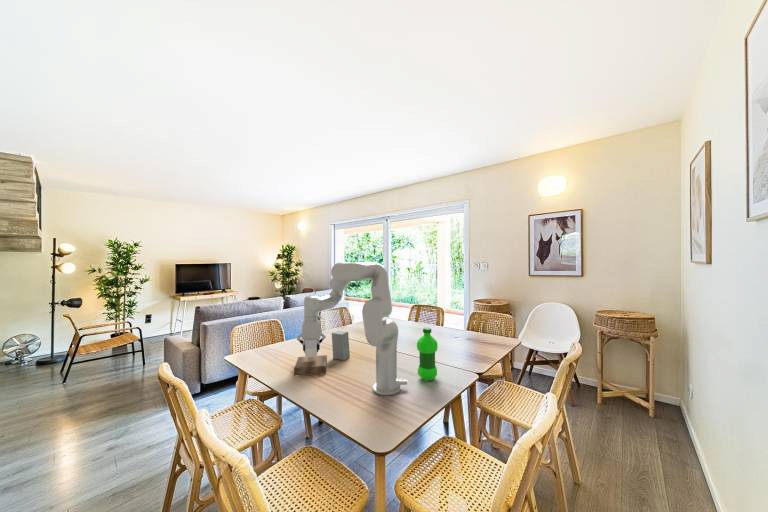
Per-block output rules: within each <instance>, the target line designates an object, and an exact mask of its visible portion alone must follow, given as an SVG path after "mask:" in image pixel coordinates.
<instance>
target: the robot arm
mask: <svg viewBox="0 0 768 512" xmlns="http://www.w3.org/2000/svg"><path fill="white" fill-rule="evenodd" d="M330 275H331V277H332V278H330V281H329V288H330V289H331V291H330V292H329V294H328V295H322V296H317V295H307V296H305V297H304V299H303V318H304V319H303V321H302V325H301V333H300V334H299V335H298V336H297V337H296V340H297V341H298V342H299V343H300V344H301V345H302V351H303V353H304V354H305V340H315V339H317V353H318V352H319V351H320V349H321V348H320V346H321V345H320V344H321V343H322V342H323V341H324V340H325V339H326V335H325V334H324V333H323V332H322V326H321V320H320V319H322V316H321V315H319V312H323V311H327V310H331V309H333V308H335V307H336V306H337V305H338V304H339V302H341V300H342V298H343V295H344V290H345V289H346V288H348V286H349V284H351V282H362V281H368V280H371V284H370V292H371V298H370V299H368V300H366V301H365V303H364V304H363V305H362V308H361V309H362V311H361V312H362V313H361V315H362V321H363V327H364V335H365V339H366V341H367V343H368V344H369V345H370V346H372V347H375V380H376V381H375V383H374V384H373V385H372V391H373V392H374V393H375V394H377V395H380V396H393V395H396V394H398V393H399V392H400V391H401V386H402V385H403V386H405V385H406V386H407V385H408V380H407V379H404V378H398V377H397V376H398V373H397V372H398V370H397V366H398V364H397V363H398V362H397V360H398V359H397V357H398V356H397V355H398V350H397V348H398V347H397V346H398V339H399V338H398V337H399V327H398V325H397V323H396V322H395V321H394V320H392V319H383V318H387V317H389V316H390V315H391V314H392V312H393V303H392V298H391V291H390V286H389V276H388V271H387V269H386V267H385V266H384V265H382V264H381V263H379V262H375V261H363V262H359V261H357V262H350V261H347V262H344V261H343V262H337V263H335V264H333V266H332V267H331V270H330Z"/></svg>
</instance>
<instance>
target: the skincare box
mask: <svg viewBox="0 0 768 512" xmlns="http://www.w3.org/2000/svg"><path fill="white" fill-rule="evenodd" d="M349 337H350V336H349V331H346V330H345V331H344V330H336V331H333V332H331V341H332V342H331V345H332V359H334V358H335V360H340V361H345V360H347V359H349V358H350V353H351V352H350V341H349V340H350V339H349Z"/></svg>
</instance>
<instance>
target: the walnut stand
mask: <svg viewBox="0 0 768 512" xmlns="http://www.w3.org/2000/svg"><path fill="white" fill-rule="evenodd" d="M327 366H328V355H327V354H326V355H325V354H324V355H317V357H305V356H298V357H297V360H296V362H295V365H294V368H293V371H294V375H293V376H295V375H299V376H308V375H307V374H312V375H321V374H320V373H325V374H327V369H328V367H327Z"/></svg>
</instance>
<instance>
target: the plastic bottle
mask: <svg viewBox="0 0 768 512" xmlns="http://www.w3.org/2000/svg"><path fill="white" fill-rule="evenodd" d="M422 333H423V335H422V336H420V337H419V339H418V340H417V342H416V350H417V351H418V352H419V365H418V367H417V374H418V376H419V377H420V378H421V379H422V380H423V379H424V380H423V381H425V380H427V381H426V382H429V381H428V380H431V381H433V380H434V379H435V378H436V377H437V375H438V368H437V366H436V352H437V351H438V341H437V339H435V338H434V337H433V336H432V335H431V333H432V328H431V327H423V328H422ZM432 379H433V380H432Z"/></svg>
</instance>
